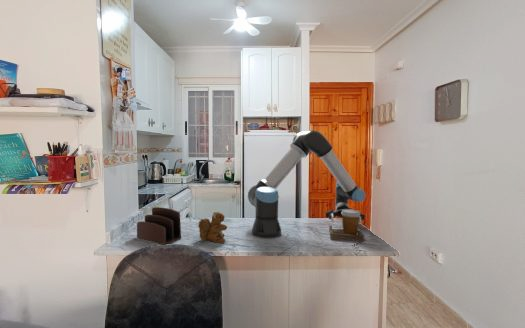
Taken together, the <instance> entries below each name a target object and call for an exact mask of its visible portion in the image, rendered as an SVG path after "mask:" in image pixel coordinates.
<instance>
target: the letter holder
mask: <svg viewBox="0 0 525 328" xmlns="http://www.w3.org/2000/svg"><path fill="white" fill-rule="evenodd" d="M181 226H182V225H181V214H180V211H177V210H175V209H172V208H169V207H158V206H155V207H152V208H151V214H145V216H144V221H137V222H136V237H137V238H139V239H143V240H146V241H150V242H154V243H157V244H161V245H164V244H166V245H168V244H171V243H174V242H175V241H178V240H180V239H182V230H181V229H182V227H181Z"/></svg>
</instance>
